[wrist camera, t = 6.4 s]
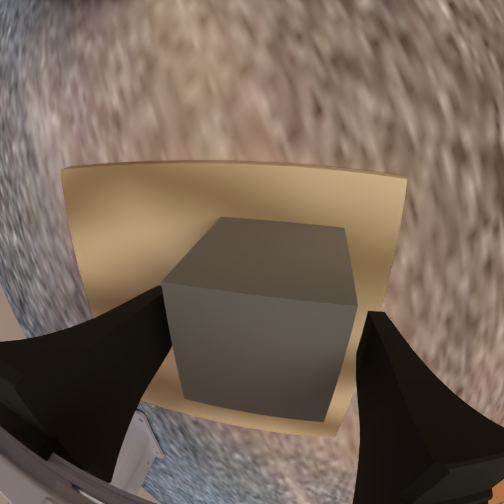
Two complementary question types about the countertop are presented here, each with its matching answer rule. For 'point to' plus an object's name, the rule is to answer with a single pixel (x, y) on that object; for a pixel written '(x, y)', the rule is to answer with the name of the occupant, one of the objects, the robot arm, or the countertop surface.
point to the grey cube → (262, 316)
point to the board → (201, 220)
